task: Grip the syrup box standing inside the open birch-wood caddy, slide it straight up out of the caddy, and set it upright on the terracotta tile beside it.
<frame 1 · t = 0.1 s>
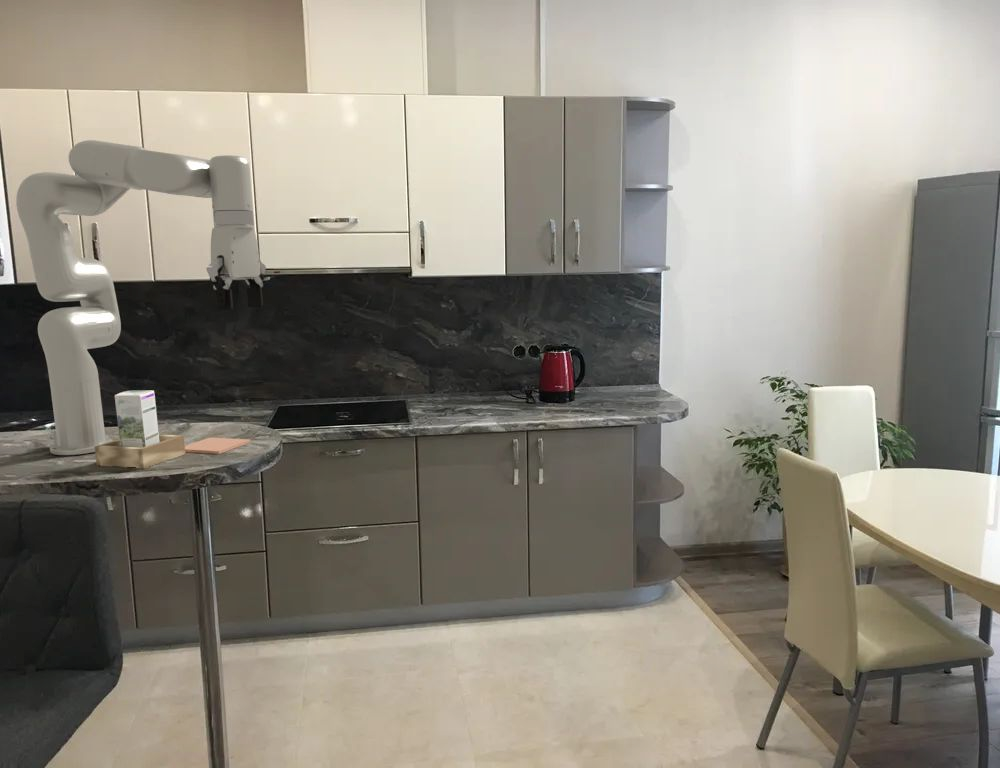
hand: (240, 308, 153), 31 cm above the breakfast bar, fingers open, 9 cm apart
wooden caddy: (142, 459, 161), on the breakfast bar
syrup box: (142, 460, 161), resting in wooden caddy
terracotta tile: (214, 446, 171), on the breakfast bar
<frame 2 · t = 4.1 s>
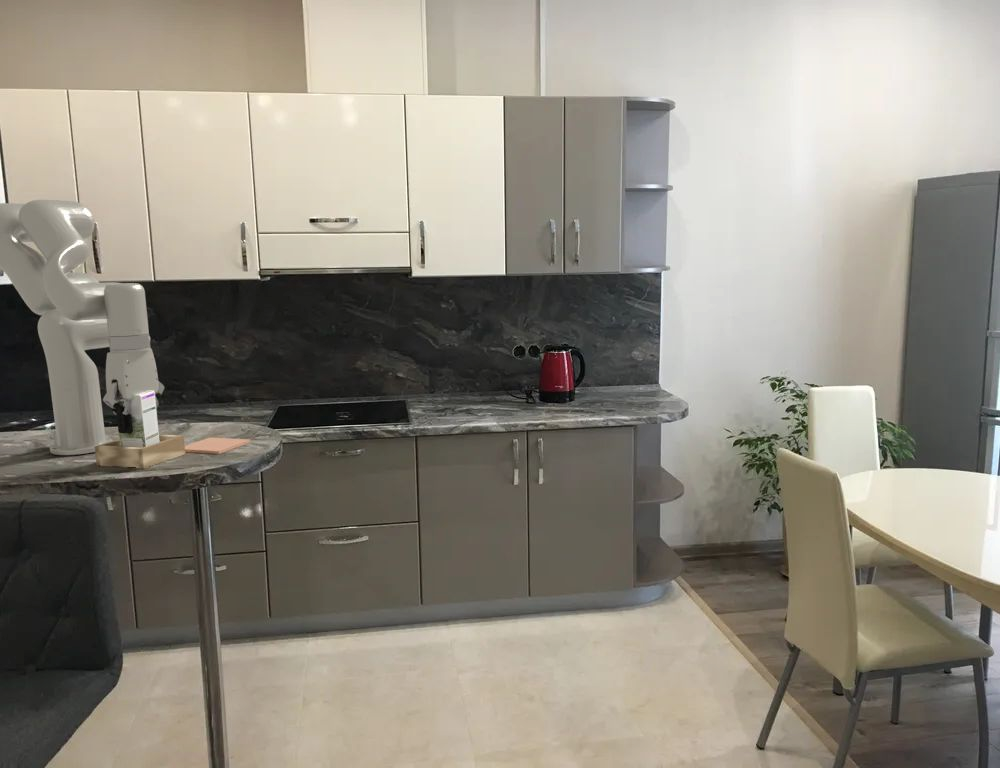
hand: (138, 428, 160), 7 cm above the breakfast bar, fingers closed on syrup box, 6 cm apart
syrup box: (142, 460, 161), resting in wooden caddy, touching gripper
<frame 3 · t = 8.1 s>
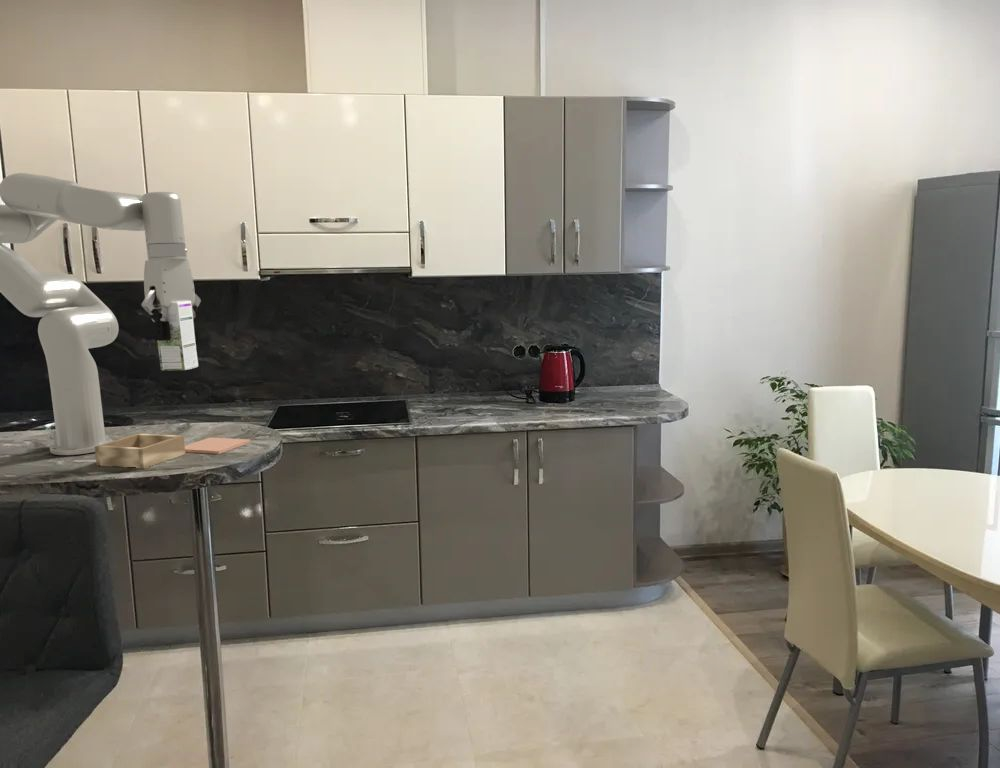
hand: (176, 337, 163), 25 cm above the breakfast bar, fingers closed on syrup box, 6 cm apart
syrup box: (179, 369, 164), point 18 cm above the breakfast bar, touching gripper
when the fingers open (8 cm above the breakfast bar, at t = 12.5 s): syrup box drops 1 cm, resting on terracotta tile.
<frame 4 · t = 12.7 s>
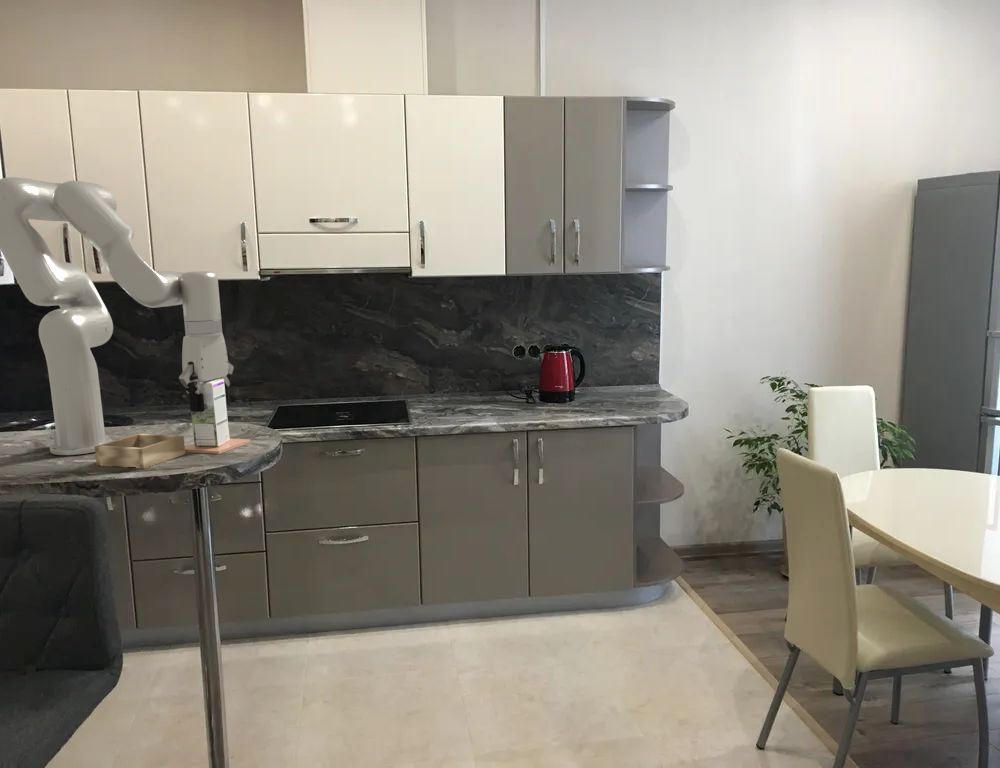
hand: (210, 407, 169), 9 cm above the breakfast bar, fingers open, 8 cm apart
syrup box: (212, 445, 170), resting on terracotta tile
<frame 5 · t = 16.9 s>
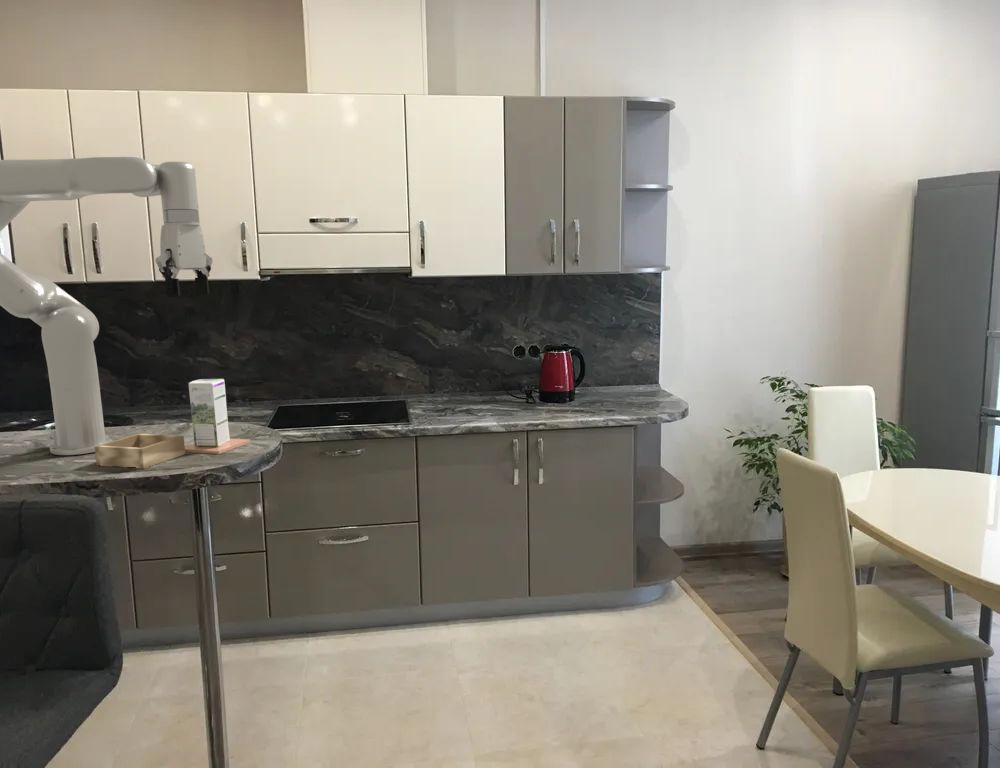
hand: (188, 295, 175), 33 cm above the breakfast bar, fingers open, 9 cm apart
nothing on the breakfast bar moved.
at the end: syrup box inside the target area on the terracotta tile (0.4 cm from its centre), point 0.4 cm above the terracotta tile's base; syrup box tilted 0°; the gripper is holding nothing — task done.
